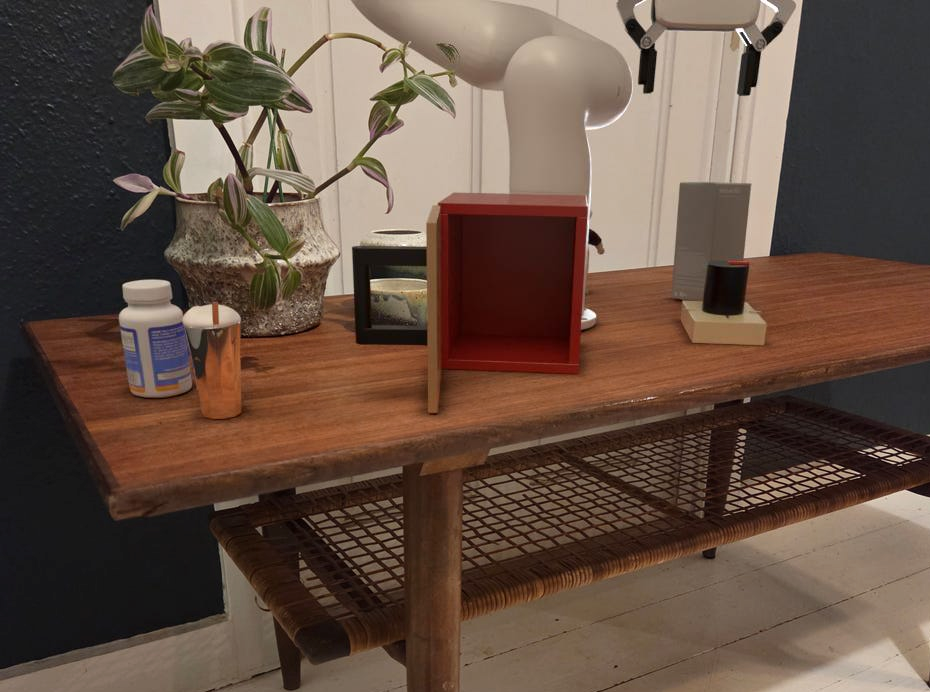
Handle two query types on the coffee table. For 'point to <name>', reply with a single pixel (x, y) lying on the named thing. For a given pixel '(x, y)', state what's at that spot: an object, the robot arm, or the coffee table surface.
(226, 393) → the milkshake
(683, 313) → the panel
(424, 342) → the door
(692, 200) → the cosmetic box
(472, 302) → the red cabinet
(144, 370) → the pill bottle
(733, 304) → the knob
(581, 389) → the coffee table surface
